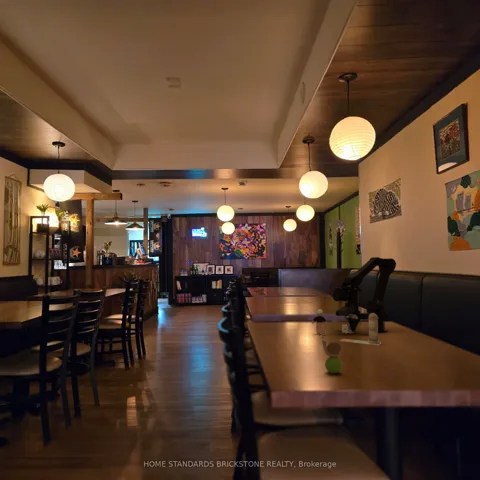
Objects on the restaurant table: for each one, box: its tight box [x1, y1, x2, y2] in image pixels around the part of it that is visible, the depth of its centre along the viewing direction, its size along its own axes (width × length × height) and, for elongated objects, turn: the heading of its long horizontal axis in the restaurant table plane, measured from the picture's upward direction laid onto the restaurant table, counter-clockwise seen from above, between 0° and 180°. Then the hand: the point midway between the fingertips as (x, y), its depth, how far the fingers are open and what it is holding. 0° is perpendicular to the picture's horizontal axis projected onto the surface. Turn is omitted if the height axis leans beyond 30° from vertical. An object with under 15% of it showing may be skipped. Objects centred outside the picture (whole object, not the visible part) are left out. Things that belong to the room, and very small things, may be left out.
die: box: [341, 323, 354, 334], centre depth 197 cm, size 4×4×4 cm
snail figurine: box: [321, 335, 343, 375], centre depth 126 cm, size 5×6×12 cm
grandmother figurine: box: [311, 309, 329, 336], centre depth 192 cm, size 8×4×13 cm, turn 84°
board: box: [339, 338, 382, 346], centre depth 172 cm, size 18×7×1 cm, turn 57°
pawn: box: [366, 313, 381, 346], centre depth 169 cm, size 5×5×13 cm
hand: (353, 331), depth 194 cm, fingers closed
